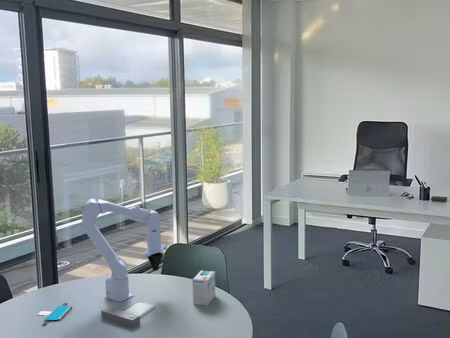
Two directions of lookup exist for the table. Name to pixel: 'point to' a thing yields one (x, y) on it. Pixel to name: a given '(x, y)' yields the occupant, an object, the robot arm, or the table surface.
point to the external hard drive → (140, 309)
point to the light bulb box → (203, 287)
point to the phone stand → (56, 313)
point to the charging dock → (120, 317)
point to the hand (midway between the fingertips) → (155, 270)
